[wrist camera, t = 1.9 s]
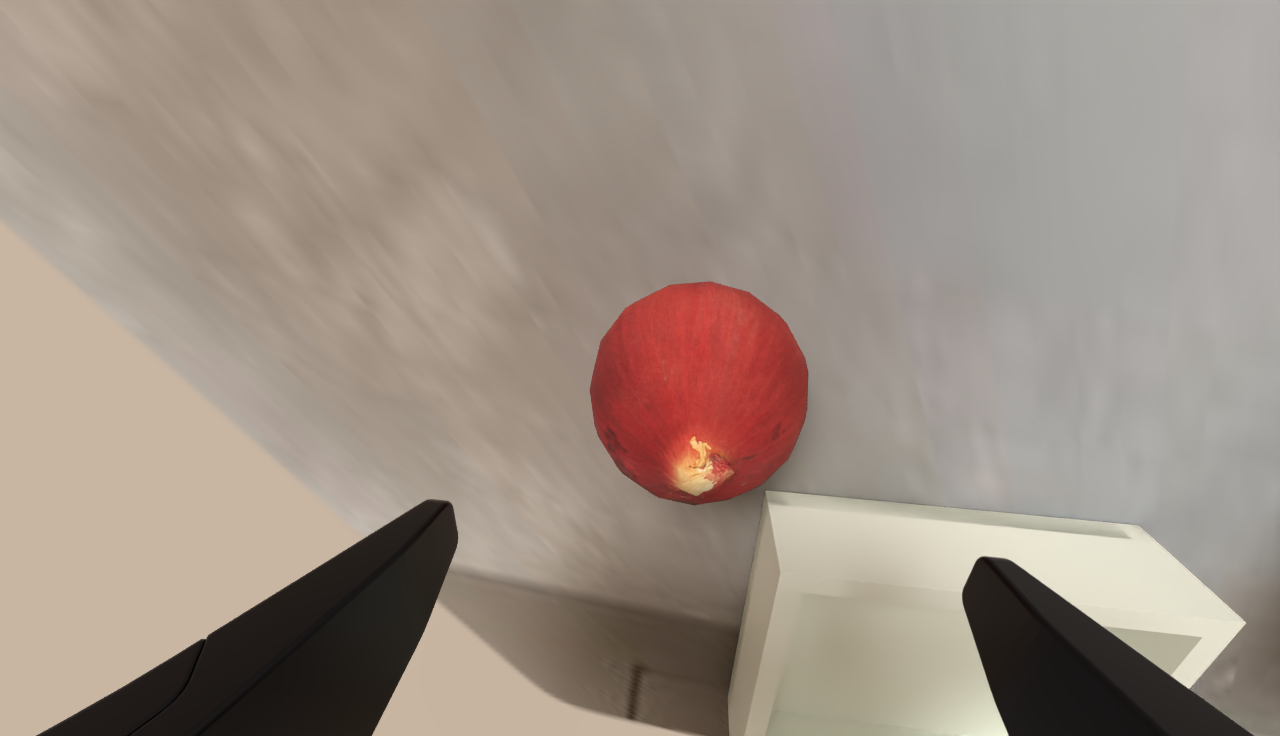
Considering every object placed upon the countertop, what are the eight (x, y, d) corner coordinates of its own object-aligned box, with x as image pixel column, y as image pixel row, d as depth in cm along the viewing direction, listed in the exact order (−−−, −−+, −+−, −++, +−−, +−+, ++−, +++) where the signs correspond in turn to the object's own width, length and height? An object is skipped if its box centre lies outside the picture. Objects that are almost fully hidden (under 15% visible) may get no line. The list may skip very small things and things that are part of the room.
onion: (749, 428, 18) (782, 623, 11) (598, 389, 18) (533, 559, 11) (810, 280, 16) (906, 410, 8) (634, 233, 15) (579, 323, 8)
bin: (1138, 525, 18) (1246, 622, 15) (1005, 733, 24) (1058, 838, 21) (765, 490, 19) (780, 572, 16) (727, 697, 25) (732, 791, 22)
